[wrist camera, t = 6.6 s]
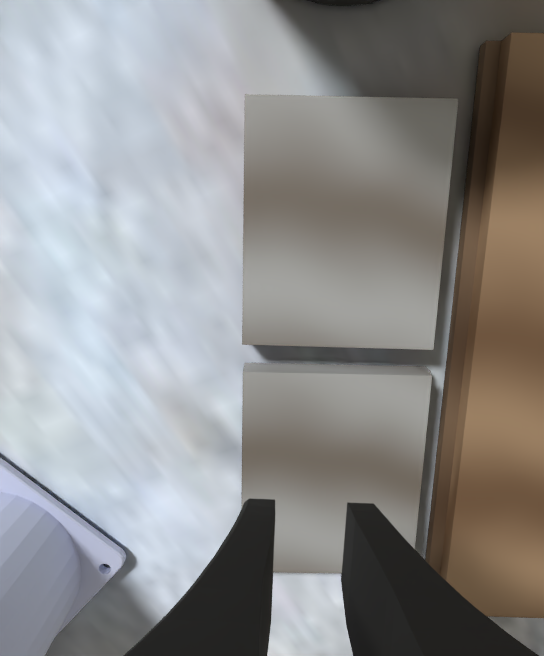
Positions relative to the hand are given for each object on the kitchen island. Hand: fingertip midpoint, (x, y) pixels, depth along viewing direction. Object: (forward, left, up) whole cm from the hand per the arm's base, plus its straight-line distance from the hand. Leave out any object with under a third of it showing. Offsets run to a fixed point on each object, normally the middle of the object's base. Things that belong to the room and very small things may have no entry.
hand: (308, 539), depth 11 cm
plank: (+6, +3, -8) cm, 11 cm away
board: (+8, -6, -8) cm, 13 cm away
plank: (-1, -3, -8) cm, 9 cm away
